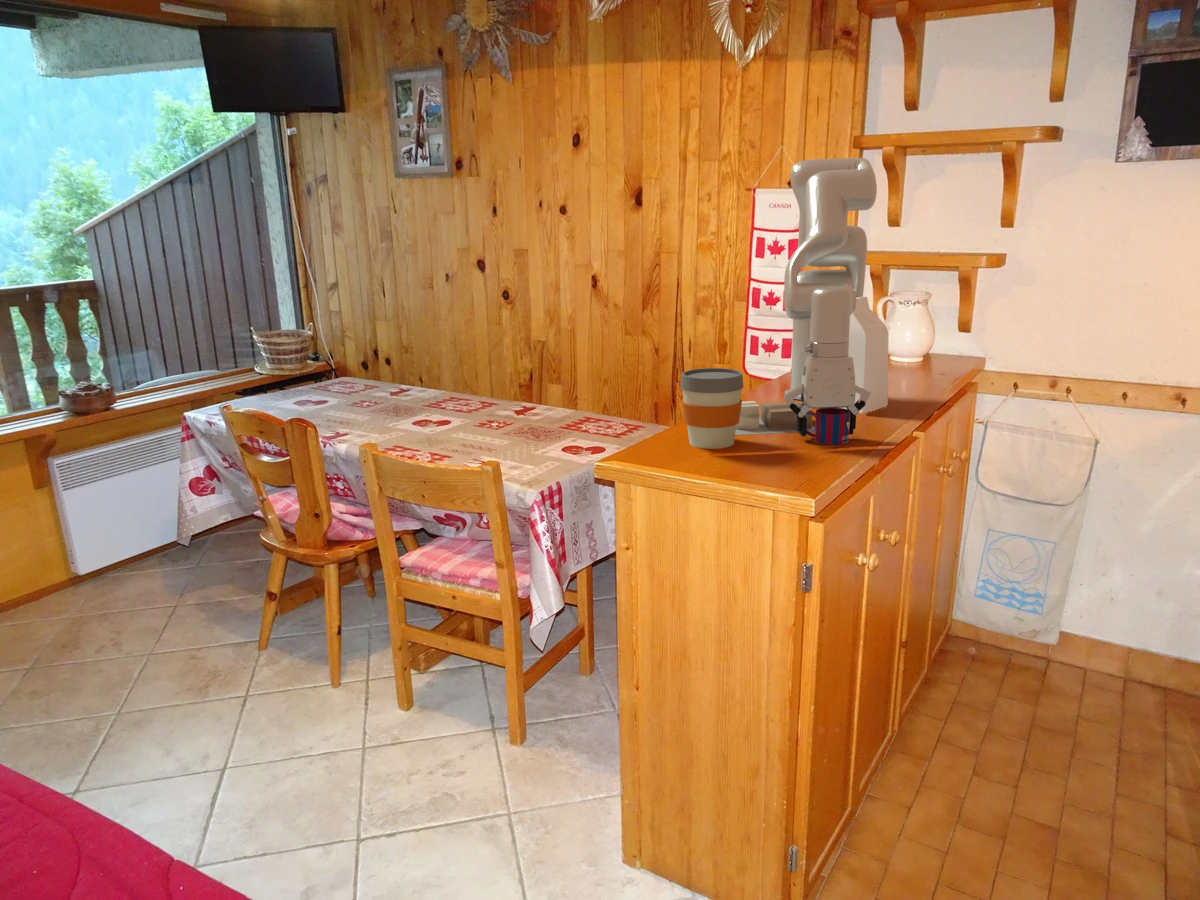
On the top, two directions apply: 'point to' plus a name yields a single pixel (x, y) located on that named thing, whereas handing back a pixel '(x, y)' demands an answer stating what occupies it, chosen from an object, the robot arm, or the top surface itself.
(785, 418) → the walnut slab
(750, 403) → the birch cube
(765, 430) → the board
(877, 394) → the milk
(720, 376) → the reusable coffee cup
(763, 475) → the top surface
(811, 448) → the top surface
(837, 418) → the cup
